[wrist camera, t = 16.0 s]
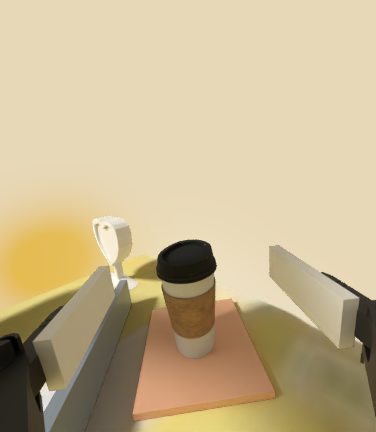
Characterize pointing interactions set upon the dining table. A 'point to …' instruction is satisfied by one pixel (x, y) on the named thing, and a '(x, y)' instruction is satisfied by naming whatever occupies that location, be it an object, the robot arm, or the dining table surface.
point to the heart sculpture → (114, 245)
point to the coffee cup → (189, 294)
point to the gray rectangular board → (89, 371)
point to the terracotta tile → (199, 369)
